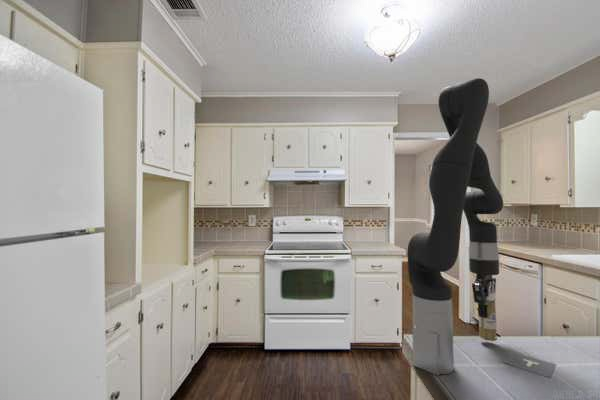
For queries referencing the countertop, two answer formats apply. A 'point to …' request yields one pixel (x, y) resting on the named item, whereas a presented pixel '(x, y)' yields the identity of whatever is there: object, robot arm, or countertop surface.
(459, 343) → the countertop surface
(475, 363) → the countertop surface
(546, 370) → the letter card
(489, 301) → the sprinkles bottle
